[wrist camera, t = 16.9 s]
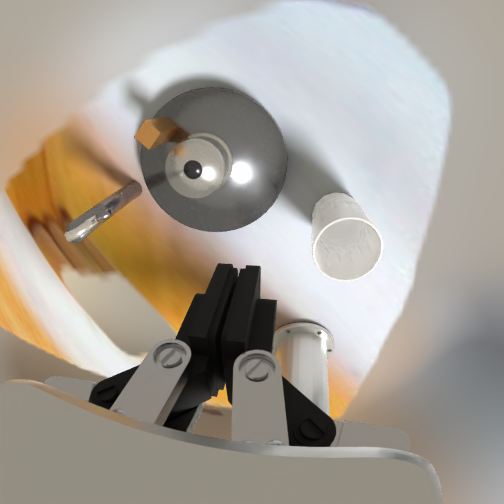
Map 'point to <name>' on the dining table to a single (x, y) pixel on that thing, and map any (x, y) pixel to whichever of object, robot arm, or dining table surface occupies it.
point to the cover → (199, 165)
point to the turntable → (241, 145)
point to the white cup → (344, 238)
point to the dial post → (101, 212)
